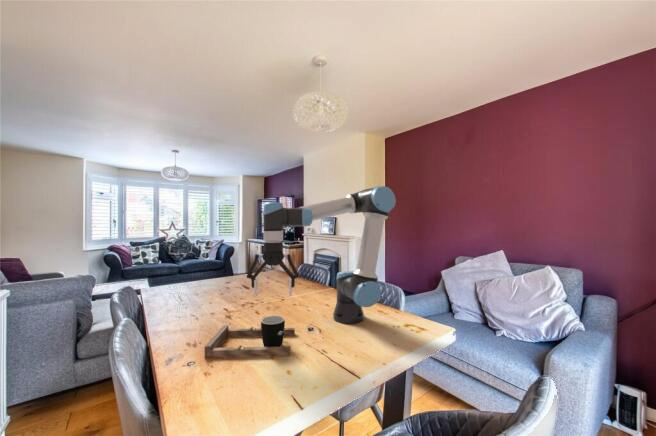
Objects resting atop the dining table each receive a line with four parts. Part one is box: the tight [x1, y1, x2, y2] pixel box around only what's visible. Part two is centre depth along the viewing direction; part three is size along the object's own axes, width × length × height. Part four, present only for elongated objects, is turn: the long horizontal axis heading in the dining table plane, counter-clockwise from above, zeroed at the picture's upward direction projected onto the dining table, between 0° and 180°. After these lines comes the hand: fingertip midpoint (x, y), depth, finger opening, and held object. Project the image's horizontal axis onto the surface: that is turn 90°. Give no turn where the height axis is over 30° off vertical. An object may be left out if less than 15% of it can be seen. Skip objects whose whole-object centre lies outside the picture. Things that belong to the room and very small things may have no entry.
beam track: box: [204, 324, 296, 359], centre depth 105 cm, size 30×19×4 cm, turn 92°
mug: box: [260, 315, 286, 347], centre depth 105 cm, size 12×9×10 cm
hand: (273, 295), depth 105 cm, fingers open, 13 cm apart
